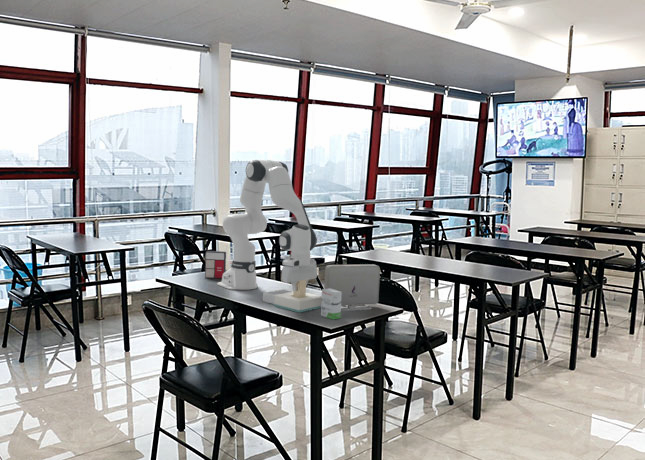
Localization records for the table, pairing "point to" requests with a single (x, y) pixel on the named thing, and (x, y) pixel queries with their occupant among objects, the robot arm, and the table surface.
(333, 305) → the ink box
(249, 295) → the table surface
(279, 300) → the block
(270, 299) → the holster
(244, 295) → the table surface
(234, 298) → the table surface
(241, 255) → the robot arm
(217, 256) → the red and grey box
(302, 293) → the plug
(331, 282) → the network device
